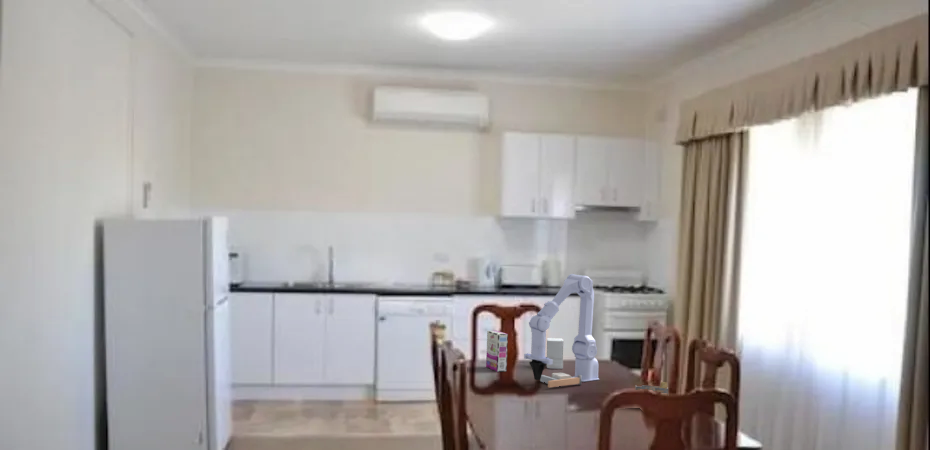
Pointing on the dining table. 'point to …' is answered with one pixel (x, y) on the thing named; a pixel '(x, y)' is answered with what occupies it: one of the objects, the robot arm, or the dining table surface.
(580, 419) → the dining table surface
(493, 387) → the dining table surface
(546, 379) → the dock
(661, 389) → the ruin model on sheet
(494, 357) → the candy bar box
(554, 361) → the supplement box
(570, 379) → the tan flat bar
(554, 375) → the white block
